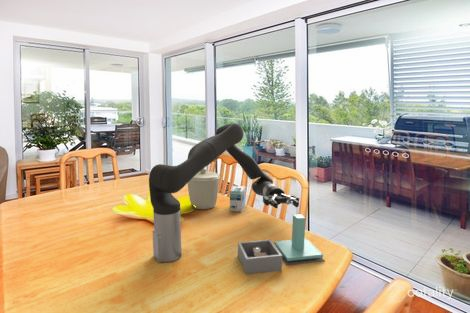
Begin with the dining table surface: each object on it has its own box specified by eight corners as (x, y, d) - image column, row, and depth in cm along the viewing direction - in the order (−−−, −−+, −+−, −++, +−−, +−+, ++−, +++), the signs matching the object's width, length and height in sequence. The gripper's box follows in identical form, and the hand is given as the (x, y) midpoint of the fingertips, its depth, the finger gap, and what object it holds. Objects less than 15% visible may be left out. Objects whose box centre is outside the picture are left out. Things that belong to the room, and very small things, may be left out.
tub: (281, 272, 100) (282, 255, 99) (246, 276, 98) (246, 259, 97) (269, 254, 112) (270, 239, 111) (237, 258, 109) (237, 242, 108)
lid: (322, 259, 107) (324, 221, 104) (287, 263, 104) (288, 224, 101) (306, 243, 119) (308, 208, 117) (274, 246, 116) (275, 211, 114)
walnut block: (268, 269, 100) (269, 258, 100) (257, 270, 100) (257, 259, 99) (265, 263, 104) (265, 252, 104) (253, 264, 103) (253, 253, 103)
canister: (226, 208, 160) (226, 169, 157) (195, 214, 151) (194, 173, 147) (210, 199, 176) (210, 163, 172) (181, 204, 166) (180, 166, 162)
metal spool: (255, 261, 105) (255, 250, 105) (250, 258, 108) (250, 247, 107) (262, 259, 107) (262, 248, 106) (257, 255, 109) (257, 245, 109)
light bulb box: (242, 212, 155) (242, 191, 154) (229, 211, 157) (229, 190, 155) (245, 205, 166) (246, 185, 164) (233, 204, 167) (233, 185, 165)
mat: (324, 263, 106) (324, 260, 106) (286, 267, 103) (286, 264, 103) (306, 245, 120) (307, 242, 120) (272, 248, 117) (272, 245, 117)
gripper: (258, 186, 133) (270, 196, 117) (289, 185, 136) (304, 195, 120) (257, 202, 134) (269, 215, 118) (288, 201, 137) (303, 213, 121)
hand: (287, 205), depth 119 cm, fingers open, 8 cm apart
